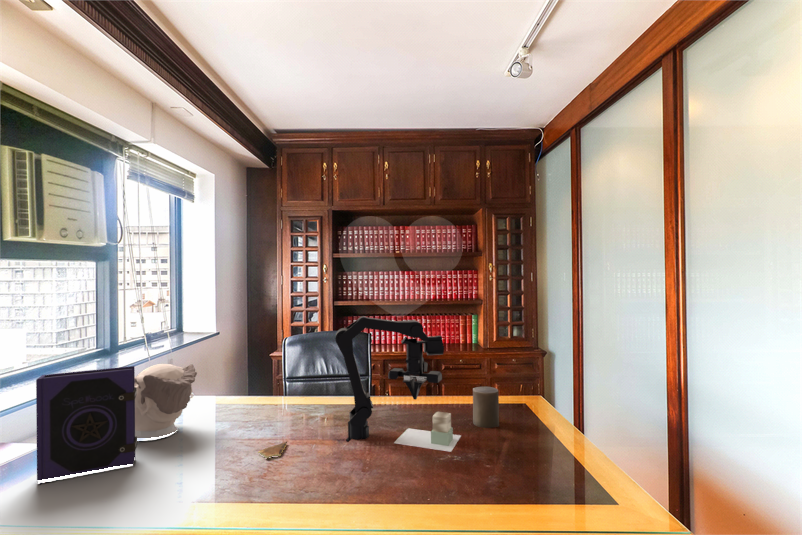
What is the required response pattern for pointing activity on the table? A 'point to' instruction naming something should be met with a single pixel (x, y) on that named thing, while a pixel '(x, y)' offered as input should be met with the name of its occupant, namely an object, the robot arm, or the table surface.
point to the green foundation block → (442, 437)
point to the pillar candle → (486, 407)
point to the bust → (161, 398)
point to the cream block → (441, 422)
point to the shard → (273, 450)
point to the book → (85, 421)
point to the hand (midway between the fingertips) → (415, 399)
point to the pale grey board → (424, 440)
